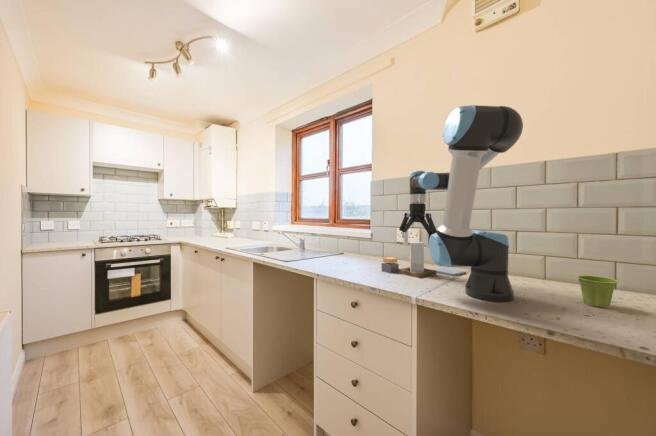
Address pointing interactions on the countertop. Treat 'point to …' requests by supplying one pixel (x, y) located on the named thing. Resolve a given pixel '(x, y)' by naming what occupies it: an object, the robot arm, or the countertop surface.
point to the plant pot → (597, 290)
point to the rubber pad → (450, 271)
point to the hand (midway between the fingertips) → (416, 246)
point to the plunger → (390, 260)
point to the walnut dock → (426, 273)
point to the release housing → (390, 267)
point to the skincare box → (417, 257)
